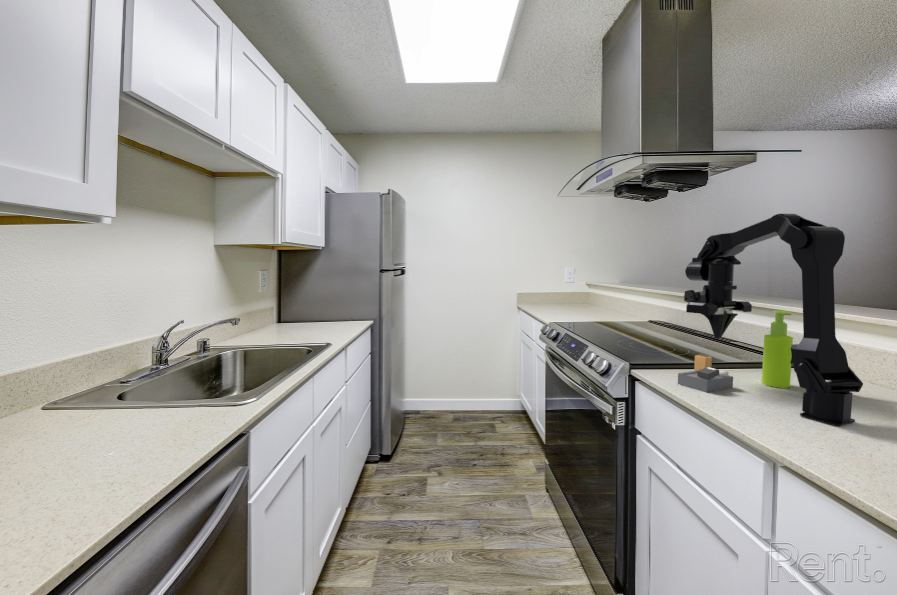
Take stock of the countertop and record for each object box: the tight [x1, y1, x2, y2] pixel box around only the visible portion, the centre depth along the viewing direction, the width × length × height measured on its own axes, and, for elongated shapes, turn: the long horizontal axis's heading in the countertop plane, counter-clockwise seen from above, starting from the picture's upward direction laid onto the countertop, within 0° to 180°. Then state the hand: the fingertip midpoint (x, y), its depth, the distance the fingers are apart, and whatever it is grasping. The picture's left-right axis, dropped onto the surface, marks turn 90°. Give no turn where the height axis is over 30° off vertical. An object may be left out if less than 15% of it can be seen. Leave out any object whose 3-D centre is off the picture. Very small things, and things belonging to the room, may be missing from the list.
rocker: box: [697, 367, 720, 379], centre depth 104 cm, size 3×4×2 cm
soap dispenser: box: [761, 310, 794, 389], centre depth 107 cm, size 6×7×20 cm
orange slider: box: [693, 353, 713, 371], centre depth 110 cm, size 3×2×4 cm
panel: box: [677, 369, 734, 393], centre depth 107 cm, size 8×10×4 cm
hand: (717, 338), depth 112 cm, fingers closed
